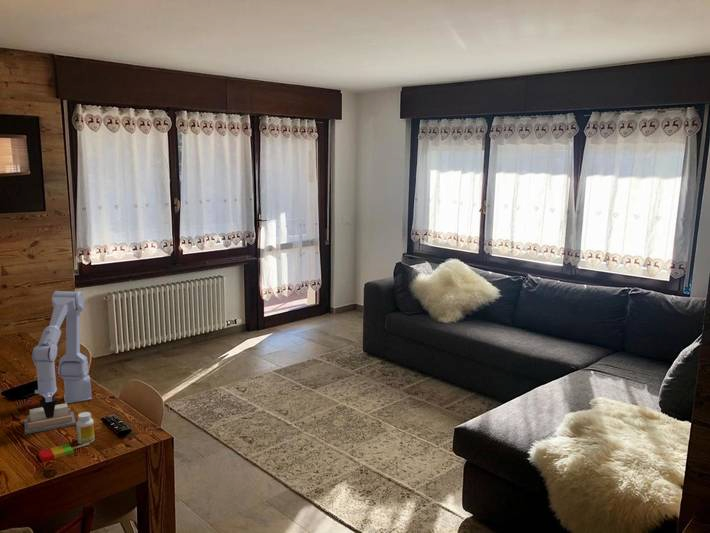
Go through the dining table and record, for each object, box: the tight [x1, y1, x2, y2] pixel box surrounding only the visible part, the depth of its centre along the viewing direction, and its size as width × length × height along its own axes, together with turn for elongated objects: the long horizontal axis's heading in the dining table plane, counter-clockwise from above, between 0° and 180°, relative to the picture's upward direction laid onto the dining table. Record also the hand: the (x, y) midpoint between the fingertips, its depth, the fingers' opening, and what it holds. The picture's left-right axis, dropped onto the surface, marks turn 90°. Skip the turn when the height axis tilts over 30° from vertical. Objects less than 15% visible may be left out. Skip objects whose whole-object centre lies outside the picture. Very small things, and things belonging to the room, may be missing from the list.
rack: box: [23, 407, 77, 435], centre depth 210 cm, size 16×10×3 cm, turn 120°
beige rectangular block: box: [29, 402, 69, 422], centre depth 210 cm, size 12×4×5 cm, turn 120°
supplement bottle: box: [75, 411, 96, 445], centre depth 199 cm, size 5×5×10 cm
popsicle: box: [38, 443, 90, 462], centre depth 192 cm, size 6×15×2 cm, turn 130°
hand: (49, 413), depth 210 cm, fingers open, 7 cm apart
